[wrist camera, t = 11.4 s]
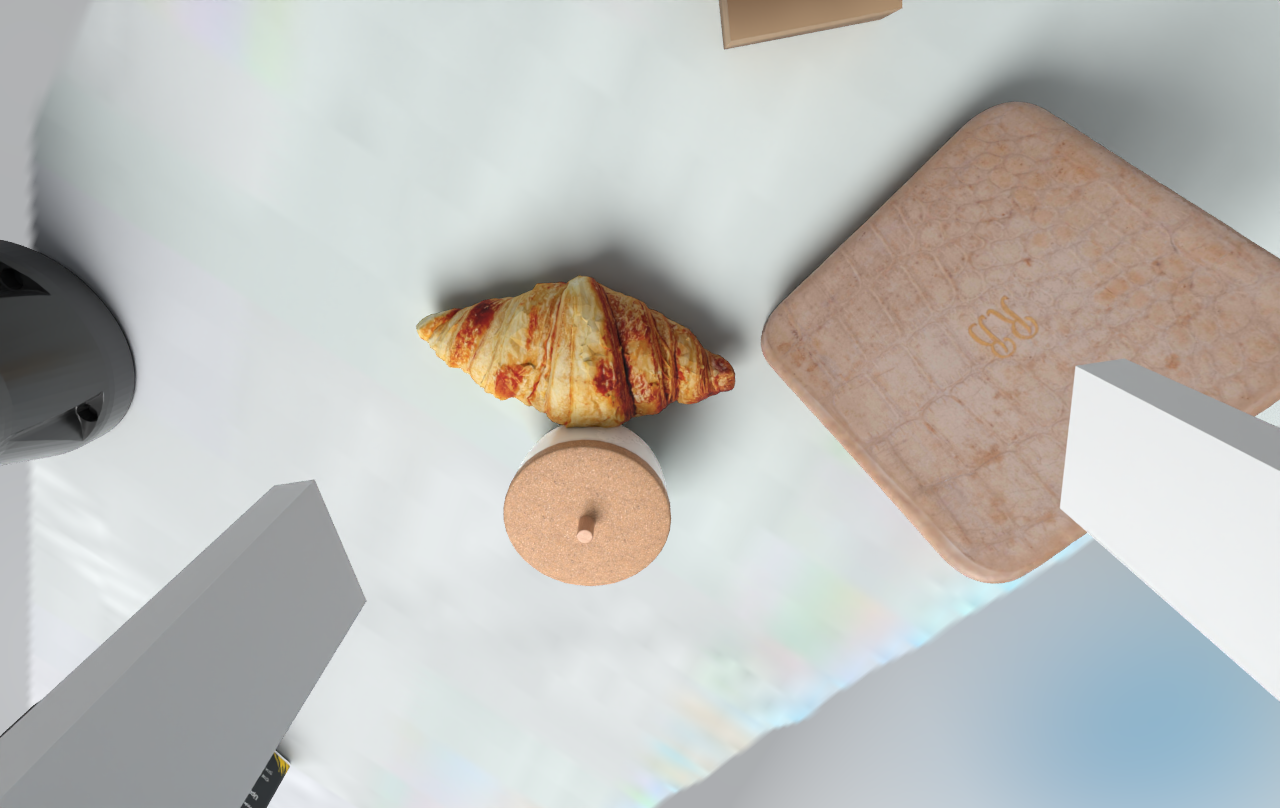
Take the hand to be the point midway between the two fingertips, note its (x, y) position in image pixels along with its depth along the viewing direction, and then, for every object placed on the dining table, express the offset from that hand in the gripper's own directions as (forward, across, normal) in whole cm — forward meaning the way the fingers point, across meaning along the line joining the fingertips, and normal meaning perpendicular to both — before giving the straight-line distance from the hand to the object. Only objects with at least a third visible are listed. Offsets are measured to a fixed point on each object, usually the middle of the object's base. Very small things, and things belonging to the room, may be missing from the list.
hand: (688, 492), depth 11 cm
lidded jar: (+32, -7, -15) cm, 36 cm away
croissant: (+32, -6, -6) cm, 33 cm away
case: (+32, +19, -9) cm, 38 cm away
